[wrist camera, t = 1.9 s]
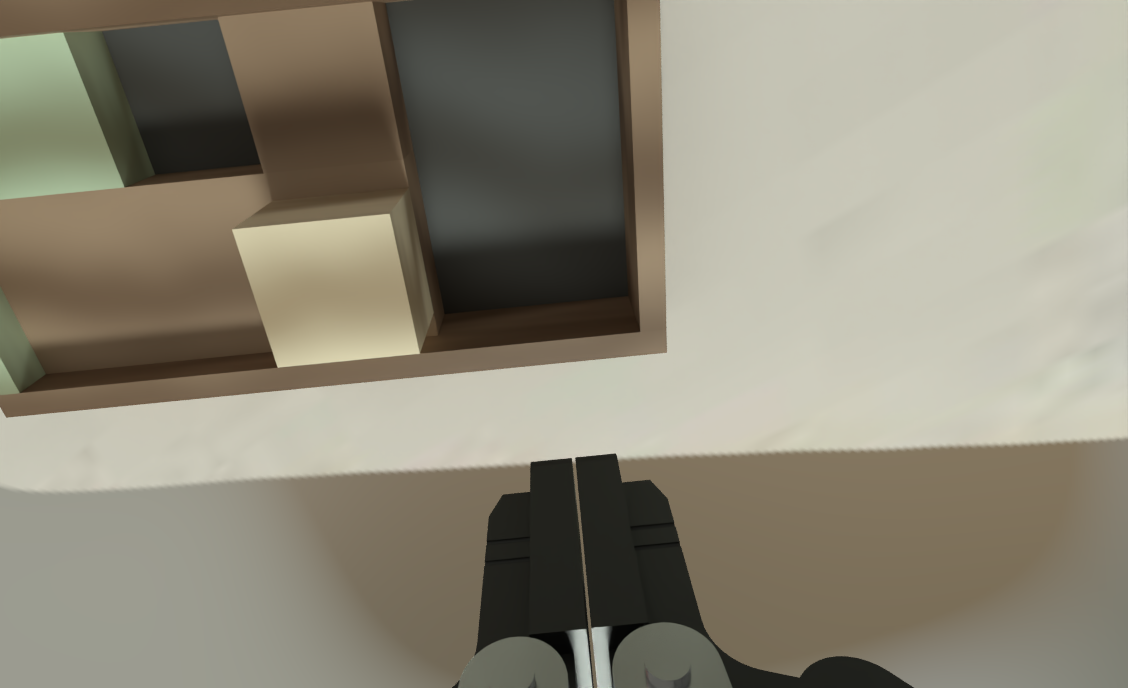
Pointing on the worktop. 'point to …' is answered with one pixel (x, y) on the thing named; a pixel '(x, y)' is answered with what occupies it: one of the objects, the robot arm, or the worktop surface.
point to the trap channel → (320, 183)
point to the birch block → (338, 276)
